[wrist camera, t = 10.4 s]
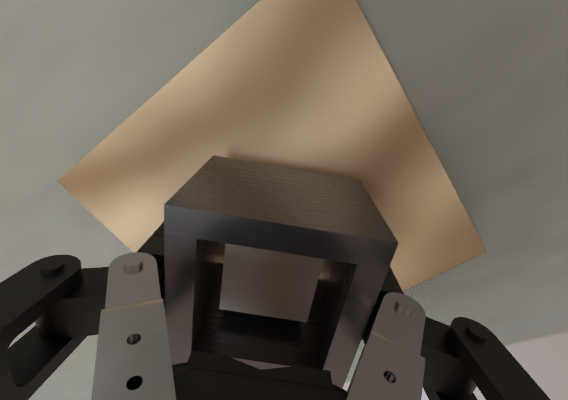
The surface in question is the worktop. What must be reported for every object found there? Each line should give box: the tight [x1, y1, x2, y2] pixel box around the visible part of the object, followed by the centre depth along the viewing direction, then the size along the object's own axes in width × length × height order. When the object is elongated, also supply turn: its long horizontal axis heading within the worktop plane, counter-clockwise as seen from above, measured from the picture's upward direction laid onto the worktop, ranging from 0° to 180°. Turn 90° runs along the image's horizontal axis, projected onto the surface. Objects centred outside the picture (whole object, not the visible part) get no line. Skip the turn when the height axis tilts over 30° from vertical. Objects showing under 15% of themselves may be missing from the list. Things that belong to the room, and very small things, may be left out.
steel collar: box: [164, 155, 398, 388], centre depth 11 cm, size 6×6×5 cm
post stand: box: [58, 0, 487, 322], centre depth 13 cm, size 16×16×6 cm
